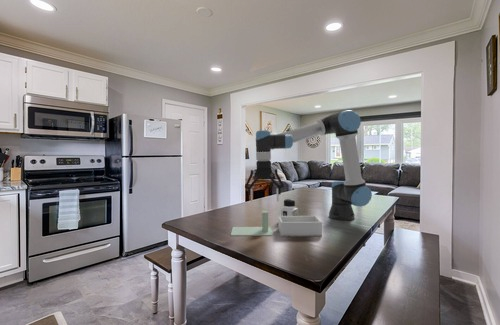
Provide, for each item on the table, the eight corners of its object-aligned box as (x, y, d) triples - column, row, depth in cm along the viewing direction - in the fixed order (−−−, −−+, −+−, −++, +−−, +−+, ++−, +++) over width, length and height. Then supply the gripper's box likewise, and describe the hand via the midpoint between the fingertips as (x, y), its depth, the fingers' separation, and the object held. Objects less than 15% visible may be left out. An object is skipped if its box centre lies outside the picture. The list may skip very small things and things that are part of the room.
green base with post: (270, 228, 134) (270, 208, 134) (272, 236, 121) (272, 214, 121) (232, 228, 134) (232, 209, 134) (230, 236, 121) (230, 215, 121)
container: (292, 223, 141) (292, 201, 140) (280, 221, 146) (280, 199, 145) (298, 220, 147) (298, 199, 147) (286, 218, 152) (286, 198, 151)
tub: (315, 228, 131) (315, 215, 131) (322, 236, 119) (322, 222, 119) (278, 228, 132) (278, 216, 131) (281, 236, 120) (281, 222, 119)
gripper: (286, 159, 130) (287, 199, 131) (240, 160, 130) (241, 200, 131) (288, 160, 122) (289, 202, 123) (239, 161, 123) (240, 203, 124)
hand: (264, 201), depth 127 cm, fingers open, 13 cm apart
